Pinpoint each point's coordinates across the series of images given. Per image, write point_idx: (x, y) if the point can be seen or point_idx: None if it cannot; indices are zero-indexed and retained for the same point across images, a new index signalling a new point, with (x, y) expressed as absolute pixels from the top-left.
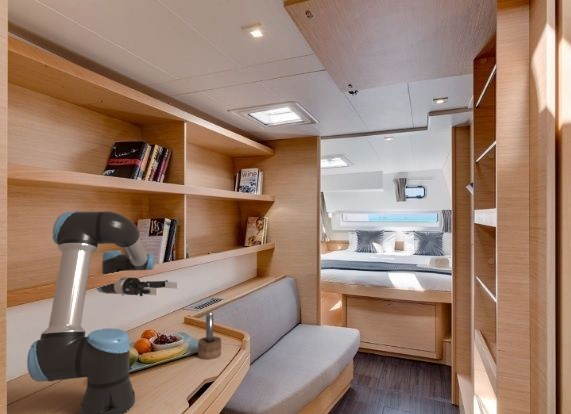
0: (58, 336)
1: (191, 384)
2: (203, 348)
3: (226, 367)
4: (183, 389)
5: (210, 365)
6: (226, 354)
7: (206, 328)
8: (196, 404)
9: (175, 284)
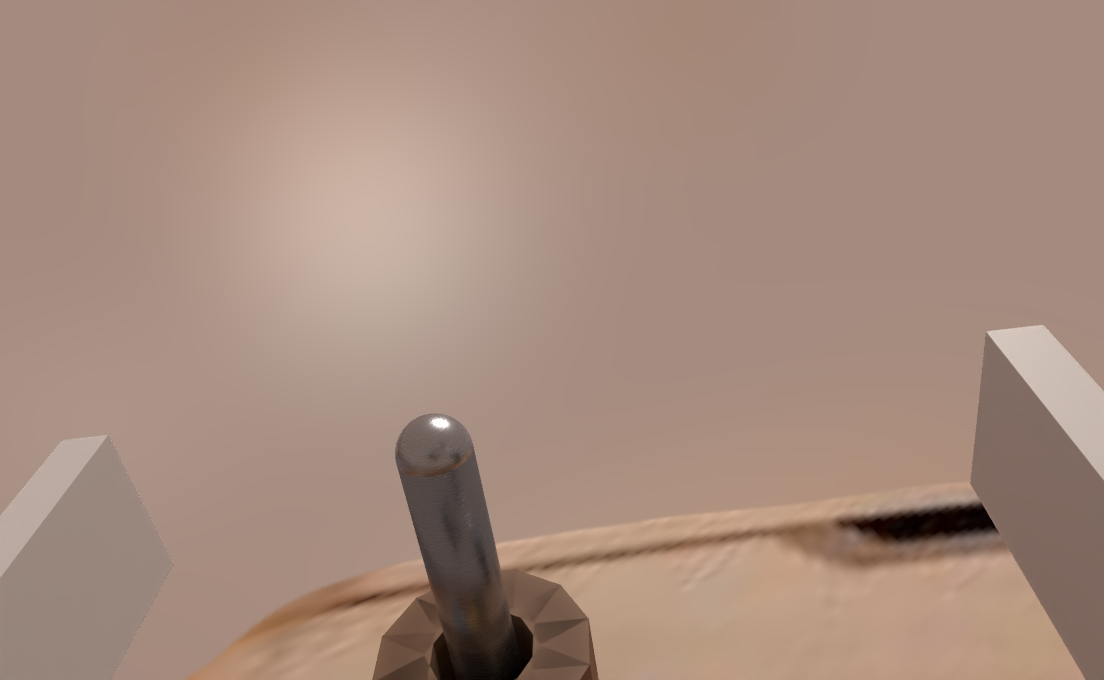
0: None
1: (958, 597)
2: (592, 668)
3: (656, 544)
4: (1038, 602)
5: (671, 637)
6: None
7: (488, 569)
8: None
9: (105, 518)
